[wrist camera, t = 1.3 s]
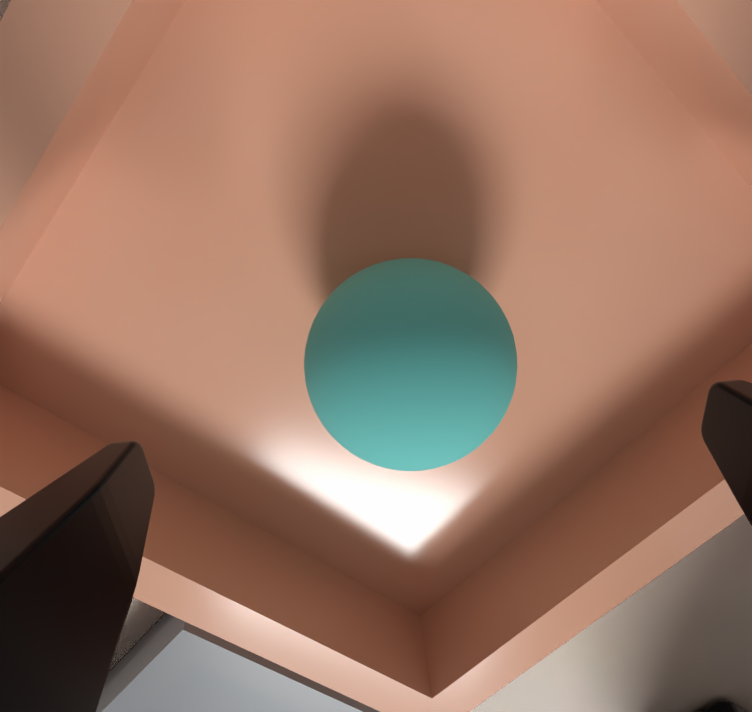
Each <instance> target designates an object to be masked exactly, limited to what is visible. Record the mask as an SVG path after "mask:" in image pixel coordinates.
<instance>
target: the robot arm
mask: <svg viewBox="0 0 752 712" xmlns="http://www.w3.org/2000/svg"><path fill="white" fill-rule="evenodd" d="M701 433H702V437H703V440H704V442H705V444H706V446H707V448H708V450H709V451H710V453H711V455H712V457H713V459H714V460H715V462H716V464H717V466H718V468H719V469H720V471H721V473H722V475H723V477H724V478H725V480H726V482H727V484H728V486H729V487H730V489H731V491H732V493H733V495H734V496H735V498H736V500H737V502H738V504H739V505H740V507H741V509H742V511H743V512H744V514H745V516H746V517H747V519H748V521H749V522H750V524H751V525H752V383H750V382H747V381H744V380H730V381H720V382H715V383H714V384H713V385H711V387H710V389H709V391H708V396H707V400H706V405H705V410H704V415H703V419H702V424H701ZM154 496H155V487H154V482H153V478H152V475H151V472H150V469H149V466H148V463H147V460H146V457H145V454H144V451H143V448H142V446H141V445H140V443H138V442H136V441H125V442H115V443H110V444H108V445H107V446H105V447H104V448H102V449H101V450H99V451H98V452H96V453H95V454H93V455H92V456H90V457H89V458H87V459H86V460H84V461H83V462H81V463H80V464H79V465H77V466H76V467H74V468H73V469H71V470H70V471H68V472H67V473H65V474H64V475H62V476H61V477H59V478H58V479H56V480H55V481H53V482H52V483H50V484H49V485H47V486H46V487H44V488H43V489H41V490H40V491H38V492H37V493H35V494H34V495H32V496H31V497H29V498H28V499H26V500H25V501H23V502H22V503H20V504H19V505H17V506H16V507H14V508H13V509H11V510H10V511H8V512H7V513H5V514H4V515H2V516H1V517H0V712H96V710H97V707H98V704H99V701H100V698H101V695H102V692H103V688H104V685H105V682H106V679H107V676H108V673H109V670H110V667H111V664H112V661H113V657H114V654H115V651H116V648H117V645H118V642H119V639H120V636H121V633H122V630H123V626H124V623H125V620H126V617H127V614H128V611H129V608H130V605H131V602H132V598H133V595H134V592H135V588H136V585H137V581H138V576H139V572H140V567H141V562H142V557H143V552H144V547H145V542H146V537H147V532H148V527H149V522H150V517H151V512H152V507H153V501H154ZM704 712H746V711H745V710H743V709H741V708H740V707H738V706H737V705H735V704H734V703H731V702H721V703H718V704H716V705H713V706H712V707H710V708H709V709H707V710H705V711H704Z"/></svg>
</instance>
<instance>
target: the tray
mask: <svg viewBox="0 0 752 712" xmlns="http://www.w3.org/2000/svg"><path fill="white" fill-rule="evenodd" d="M96 712H380V711H378V710H376V709H373V708H371V707H369V706H367V705H365V704H363V703H360V702H358V701H356V700H354V699H352V698H350V697H347V696H345V695H343V694H341V693H339V692H337V691H334V690H332V689H330V688H328V687H326V686H324V685H321V684H319V683H317V682H315V681H313V680H311V679H308V678H306V677H304V676H302V675H300V674H298V673H295V672H293V671H291V670H289V669H287V668H285V667H282V666H280V665H278V664H276V663H274V662H272V661H269V660H267V659H265V658H263V657H261V656H259V655H256V654H254V653H252V652H250V651H248V650H246V649H243V648H241V647H239V646H237V645H235V644H233V643H230V642H228V641H226V640H224V639H222V638H220V637H217V636H215V635H213V634H211V633H209V632H207V631H204V630H202V629H200V628H198V627H196V626H194V625H191V624H189V623H187V622H185V621H183V620H181V619H178V618H176V617H174V616H172V615H170V614H168V613H165V614H164V615H163V616H162V617H161V618H160V619H159V620H158V621H157V623H156V624H155V625H154V626H153V627H152V628H151V629H150V630H149V631H148V632H147V633H146V634H145V635H144V636H143V637H142V638H141V639H140V640H139V641H138V642H137V643H136V644H135V645H134V647H133V648H132V649H131V650H130V651H129V652H128V653H127V654H126V655H125V656H124V657H123V658H122V659H121V660H120V661H119V662H118V663H117V664H116V665H115V666H114V667H113V668H112V669H111V671H110V672H109V673H108V676H107V679H106V682H105V685H104V688H103V692H102V695H101V698H100V701H99V704H98V707H97V710H96Z"/></svg>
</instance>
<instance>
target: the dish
mask: <svg viewBox="0 0 752 712" xmlns="http://www.w3.org/2000/svg"><path fill="white" fill-rule="evenodd" d="M402 258H419V259H429V260H433V261H437V262H442V263H444V264H447V265H450V266H452V267H454V268H456V269H458V270H460V271H462V272H464V273H466V274H467V275H469V276H471V277H472V278H473V279H475V280H476V281H477V282H479V283H480V284H481V285H482V286H483V287H484V288H485V289H486V290H487V291H488V292H489V293H490V294H491V295H492V296H493V298H494V299H495V300H496V302H497V303H498V304H499V306H500V307H501V309H502V311H503V312H504V314H505V316H506V318H507V320H508V322H509V325H510V327H511V330H512V333H513V336H514V341H515V346H516V352H517V376H516V384H515V389H514V393H513V397H512V399H511V402H510V404H509V407H508V409H507V411H506V414H505V415H504V417H503V419H502V420H501V422H500V424H499V425H498V427H497V428H496V429H495V430H494V432H493V433H492V434H491V435H490V436H489V437H488V438H487V439H486V440H485V441H484V442H483V443H482V444H481V445H480V446H479V447H478V448H476V449H475V450H474V451H473V452H471V453H469V454H468V455H466V456H465V457H463V458H461V459H459V460H457V461H455V462H453V463H450V464H448V465H445V466H442V467H438V468H434V469H429V470H422V471H399V470H393V469H387V468H384V467H380V466H377V465H374V464H372V463H369V462H367V461H365V460H362V459H361V458H359V457H357V456H355V455H353V454H352V453H351V452H349V451H348V450H347V449H345V448H344V447H343V446H342V445H340V444H339V443H338V442H337V441H336V440H335V439H334V438H333V437H332V436H331V435H330V434H329V432H328V431H327V430H326V428H325V427H324V426H323V424H322V423H321V421H320V419H319V418H318V416H317V414H316V412H315V411H314V408H313V406H312V403H311V401H310V398H309V395H308V391H307V387H306V382H305V372H304V356H305V347H306V343H307V338H308V334H309V331H310V328H311V326H312V323H313V320H314V318H315V317H316V315H317V313H318V311H319V309H320V308H321V306H322V305H323V304H324V302H325V301H326V299H327V298H328V297H329V295H330V294H331V293H332V292H333V291H334V290H335V289H336V288H337V287H338V286H339V285H340V284H341V283H343V282H344V281H345V280H347V279H348V278H349V277H351V276H352V275H354V274H356V273H357V272H359V271H361V270H363V269H365V268H367V267H370V266H372V265H374V264H378V263H381V262H385V261H389V260H395V259H402ZM730 380H744V381H747V382H750V383H752V0H11V1H10V3H9V5H8V7H7V9H6V11H5V13H4V15H3V17H2V19H1V21H0V517H1V516H2V515H4V514H5V513H7V512H8V511H10V510H11V509H13V508H14V507H16V506H17V505H19V504H20V503H22V502H23V501H25V500H26V499H28V498H29V497H31V496H32V495H34V494H35V493H37V492H38V491H40V490H41V489H43V488H44V487H46V486H47V485H49V484H50V483H52V482H53V481H55V480H56V479H58V478H59V477H61V476H62V475H64V474H65V473H67V472H68V471H70V470H71V469H73V468H74V467H76V466H77V465H79V464H80V463H81V462H83V461H84V460H86V459H87V458H89V457H90V456H92V455H93V454H95V453H96V452H98V451H99V450H101V449H102V448H104V447H105V446H107V445H108V444H110V443H115V442H125V441H136V442H138V443H140V445H141V446H142V448H143V451H144V454H145V457H146V460H147V463H148V466H149V469H150V472H151V475H152V478H153V482H154V487H155V496H154V501H153V507H152V512H151V517H150V522H149V527H148V532H147V537H146V542H145V547H144V552H143V557H142V562H141V567H140V572H139V576H138V581H137V585H136V588H135V592H134V595H133V598H135V599H137V600H140V601H142V602H144V603H146V604H148V605H150V606H153V607H155V608H157V609H159V610H161V611H163V612H165V613H168V614H170V615H172V616H174V617H176V618H178V619H181V620H183V621H185V622H187V623H189V624H191V625H194V626H196V627H198V628H200V629H202V630H204V631H207V632H209V633H211V634H213V635H215V636H217V637H220V638H222V639H224V640H226V641H228V642H230V643H233V644H235V645H237V646H239V647H241V648H243V649H246V650H248V651H250V652H252V653H254V654H256V655H259V656H261V657H263V658H265V659H267V660H269V661H272V662H274V663H276V664H278V665H280V666H282V667H285V668H287V669H289V670H291V671H293V672H295V673H298V674H300V675H302V676H304V677H306V678H308V679H311V680H313V681H315V682H317V683H319V684H321V685H324V686H326V687H328V688H330V689H332V690H334V691H337V692H339V693H341V694H343V695H345V696H347V697H350V698H352V699H354V700H356V701H358V702H360V703H363V704H365V705H367V706H369V707H371V708H373V709H376V710H378V711H380V712H469V711H471V710H472V709H474V708H475V707H476V706H478V705H479V704H481V703H482V702H483V701H485V700H486V699H488V698H489V697H490V696H492V695H493V694H495V693H496V692H497V691H499V690H500V689H502V688H503V687H504V686H506V685H507V684H508V683H510V682H511V681H513V680H514V679H515V678H517V677H518V676H520V675H521V674H522V673H524V672H525V671H527V670H528V669H529V668H531V667H532V666H534V665H535V664H536V663H538V662H539V661H541V660H542V659H543V658H545V657H546V656H547V655H549V654H550V653H552V652H553V651H554V650H556V649H557V648H559V647H560V646H561V645H563V644H564V643H566V642H567V641H568V640H570V639H571V638H573V637H574V636H575V635H577V634H578V633H580V632H581V631H582V630H584V629H585V628H586V627H588V626H589V625H591V624H592V623H593V622H595V621H596V620H598V619H599V618H600V617H602V616H603V615H605V614H606V613H607V612H609V611H610V610H612V609H613V608H614V607H616V606H617V605H619V604H620V603H621V602H623V601H624V600H625V599H627V598H628V597H630V596H631V595H632V594H634V593H635V592H637V591H638V590H639V589H641V588H642V587H644V586H645V585H646V584H648V583H649V582H651V581H652V580H653V579H655V578H656V577H658V576H659V575H660V574H662V573H663V572H664V571H666V570H667V569H669V568H670V567H671V566H673V565H674V564H676V563H677V562H678V561H680V560H681V559H683V558H684V557H685V556H687V555H688V554H690V553H691V552H692V551H694V550H695V549H696V548H698V547H699V546H701V545H702V544H703V543H705V542H706V541H708V540H709V539H710V538H712V537H713V536H715V535H716V534H717V533H719V532H720V531H722V530H723V529H724V528H726V527H727V526H729V525H730V524H731V523H733V522H734V521H735V520H737V519H738V518H740V517H741V516H742V515H744V512H743V511H742V509H741V507H740V505H739V504H738V502H737V500H736V498H735V496H734V495H733V493H732V491H731V489H730V487H729V486H728V484H727V482H726V480H725V478H724V477H723V475H722V473H721V471H720V469H719V468H718V466H717V464H716V462H715V460H714V459H713V457H712V455H711V453H710V451H709V450H708V448H707V446H706V444H705V442H704V440H703V437H702V433H701V424H702V419H703V415H704V410H705V405H706V400H707V396H708V391H709V389H710V387H711V385H713V384H714V383H715V382H720V381H730Z"/></svg>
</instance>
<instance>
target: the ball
mask: <svg viewBox="0 0 752 712" xmlns="http://www.w3.org/2000/svg"><path fill="white" fill-rule="evenodd" d="M304 372H305V382H306V387H307V391H308V395H309V398H310V401H311V403H312V406H313V408H314V411H315V412H316V414H317V416H318V418H319V419H320V421H321V423H322V424H323V426H324V427H325V428H326V430H327V431H328V432H329V434H330V435H331V436H332V437H333V438H334V439H335V440H336V441H337V442H338V443H339V444H340V445H342V446H343V447H344V448H345V449H347V450H348V451H349V452H351V453H352V454H353V455H355V456H357V457H359V458H361V459H362V460H365V461H367V462H369V463H372V464H374V465H377V466H380V467H384V468H387V469H393V470H399V471H422V470H429V469H434V468H438V467H442V466H445V465H448V464H450V463H453V462H455V461H457V460H459V459H461V458H463V457H465V456H466V455H468V454H469V453H471V452H473V451H474V450H475V449H476V448H478V447H479V446H480V445H481V444H482V443H483V442H484V441H485V440H486V439H487V438H488V437H489V436H490V435H491V434H492V433H493V432H494V430H495V429H496V428H497V427H498V425H499V424H500V422H501V420H502V419H503V417H504V415H505V414H506V411H507V409H508V407H509V404H510V402H511V399H512V397H513V393H514V389H515V384H516V376H517V352H516V346H515V341H514V336H513V333H512V330H511V327H510V325H509V322H508V320H507V318H506V316H505V314H504V312H503V311H502V309H501V307H500V306H499V304H498V303H497V302H496V300H495V299H494V298H493V296H492V295H491V294H490V293H489V292H488V291H487V290H486V289H485V288H484V287H483V286H482V285H481V284H480V283H479V282H477V281H476V280H475V279H473V278H472V277H471V276H469V275H467V274H466V273H464V272H462V271H460V270H458V269H456V268H454V267H452V266H450V265H447V264H444V263H442V262H437V261H433V260H429V259H419V258H402V259H395V260H389V261H385V262H381V263H378V264H374V265H372V266H370V267H367V268H365V269H363V270H361V271H359V272H357V273H356V274H354V275H352V276H351V277H349V278H348V279H347V280H345V281H344V282H343V283H341V284H340V285H339V286H338V287H337V288H336V289H335V290H334V291H333V292H332V293H331V294H330V295H329V297H328V298H327V299H326V301H325V302H324V304H323V305H322V306H321V308H320V309H319V311H318V313H317V315H316V317H315V318H314V320H313V323H312V326H311V328H310V331H309V334H308V338H307V343H306V347H305V356H304Z"/></svg>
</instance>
